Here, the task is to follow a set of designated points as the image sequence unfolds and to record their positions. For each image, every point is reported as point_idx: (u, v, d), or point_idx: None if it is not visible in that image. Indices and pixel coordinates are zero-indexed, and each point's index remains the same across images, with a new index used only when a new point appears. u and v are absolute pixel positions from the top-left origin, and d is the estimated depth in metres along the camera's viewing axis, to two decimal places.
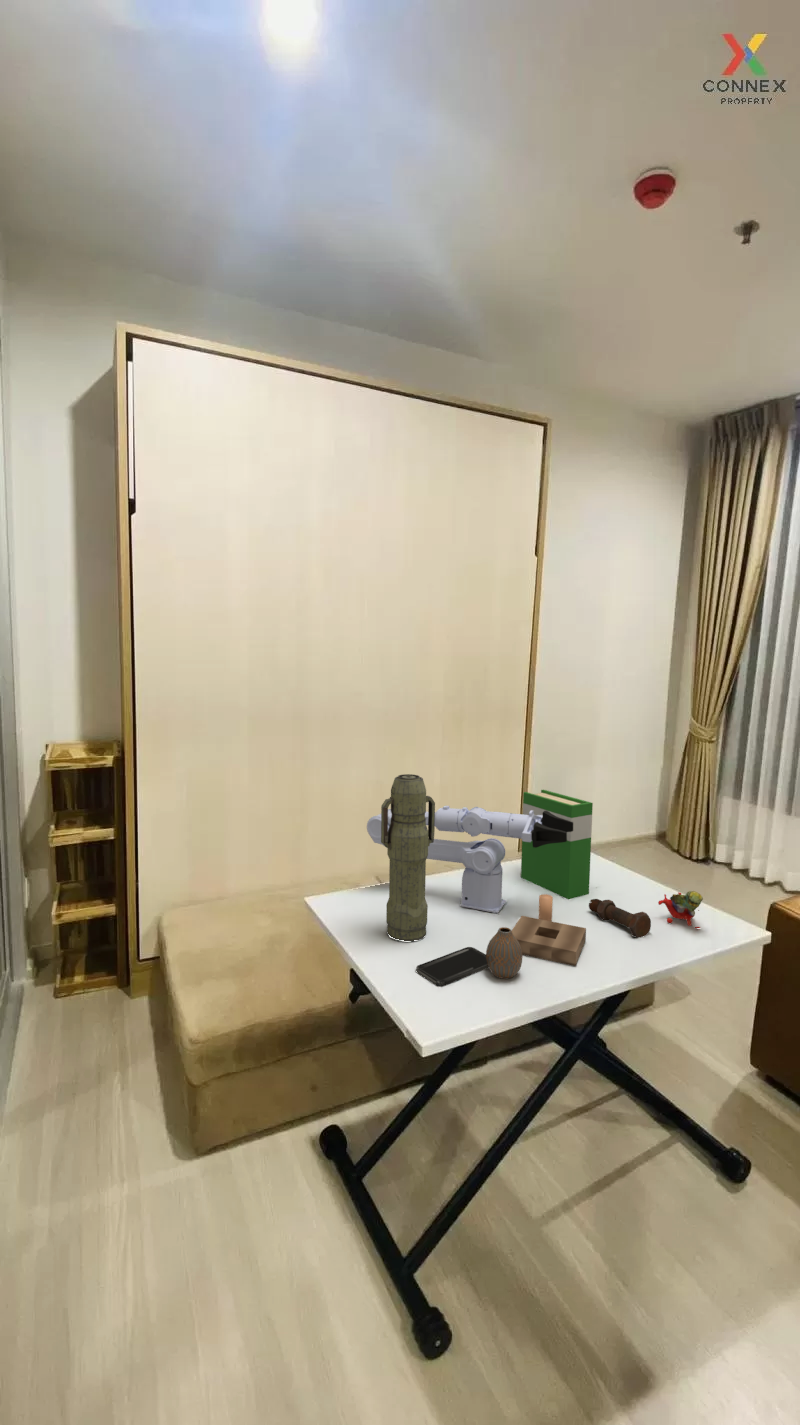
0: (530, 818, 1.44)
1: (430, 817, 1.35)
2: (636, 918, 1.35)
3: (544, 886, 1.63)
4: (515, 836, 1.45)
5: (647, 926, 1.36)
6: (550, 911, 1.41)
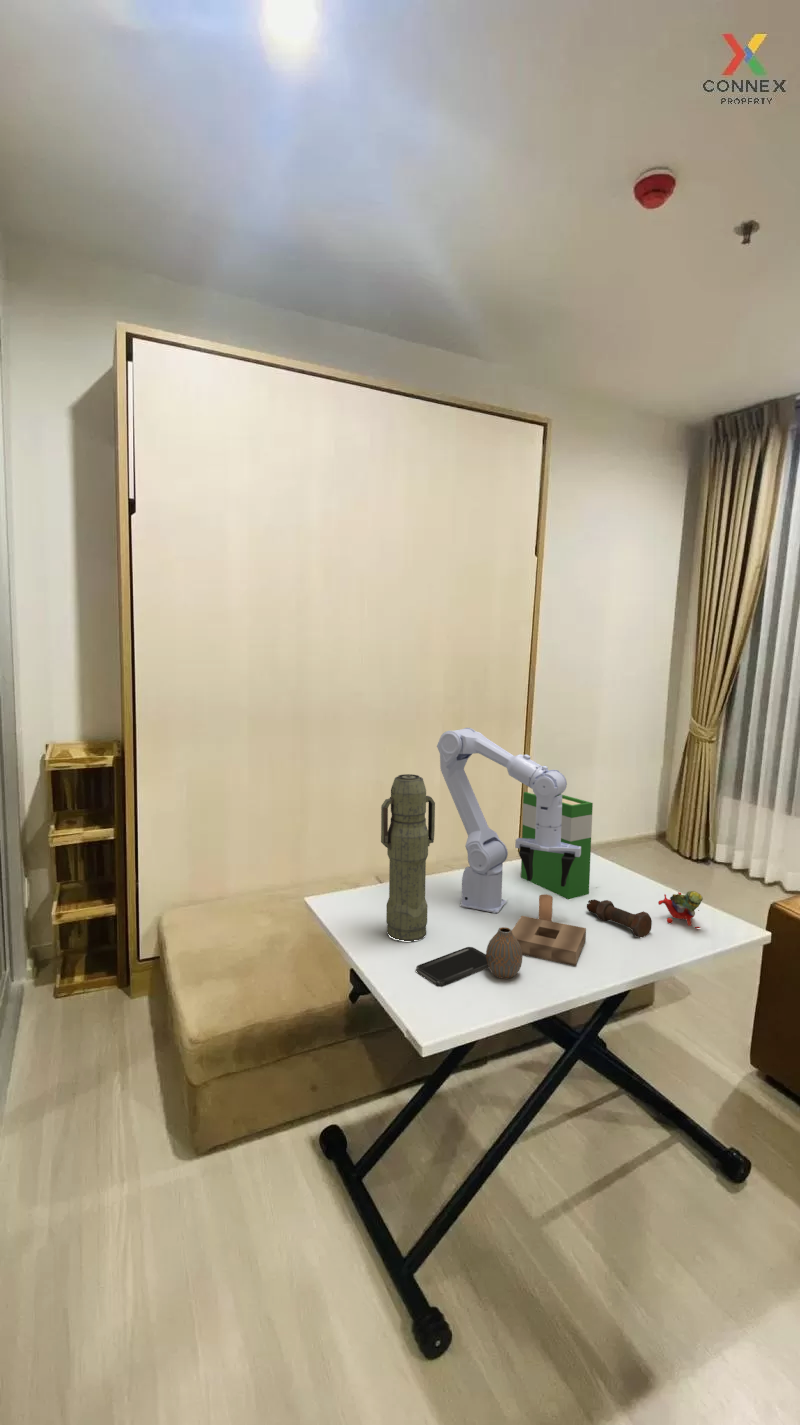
0: (538, 847, 1.39)
1: (430, 817, 1.35)
2: (639, 918, 1.35)
3: (544, 886, 1.63)
4: None
5: (648, 925, 1.37)
6: (550, 911, 1.41)
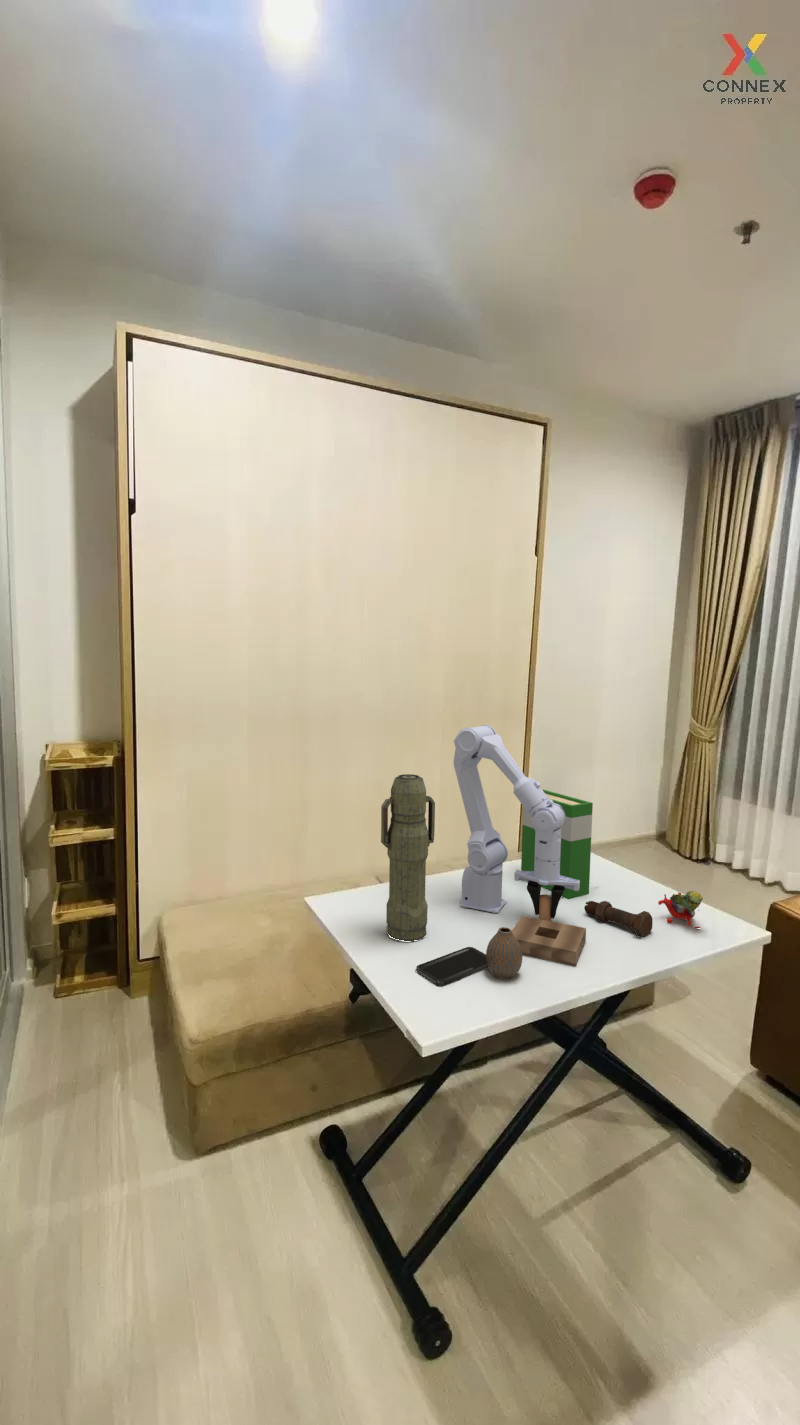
0: (537, 881, 1.40)
1: (430, 817, 1.35)
2: (641, 918, 1.35)
3: (544, 886, 1.63)
4: None
5: (650, 924, 1.37)
6: (550, 911, 1.41)
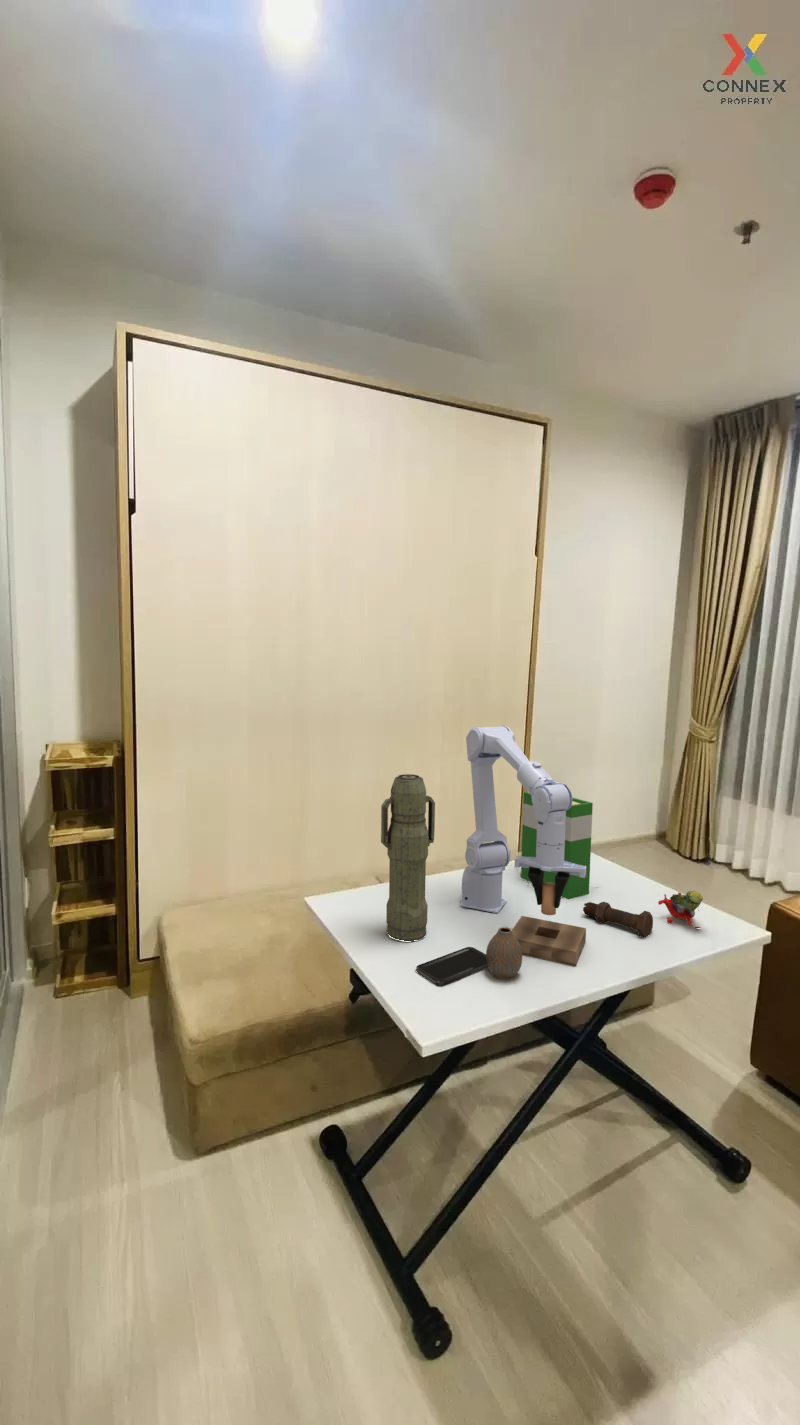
0: (539, 867, 1.28)
1: (430, 817, 1.35)
2: (644, 918, 1.35)
3: None
4: None
5: (651, 924, 1.37)
6: (554, 900, 1.29)
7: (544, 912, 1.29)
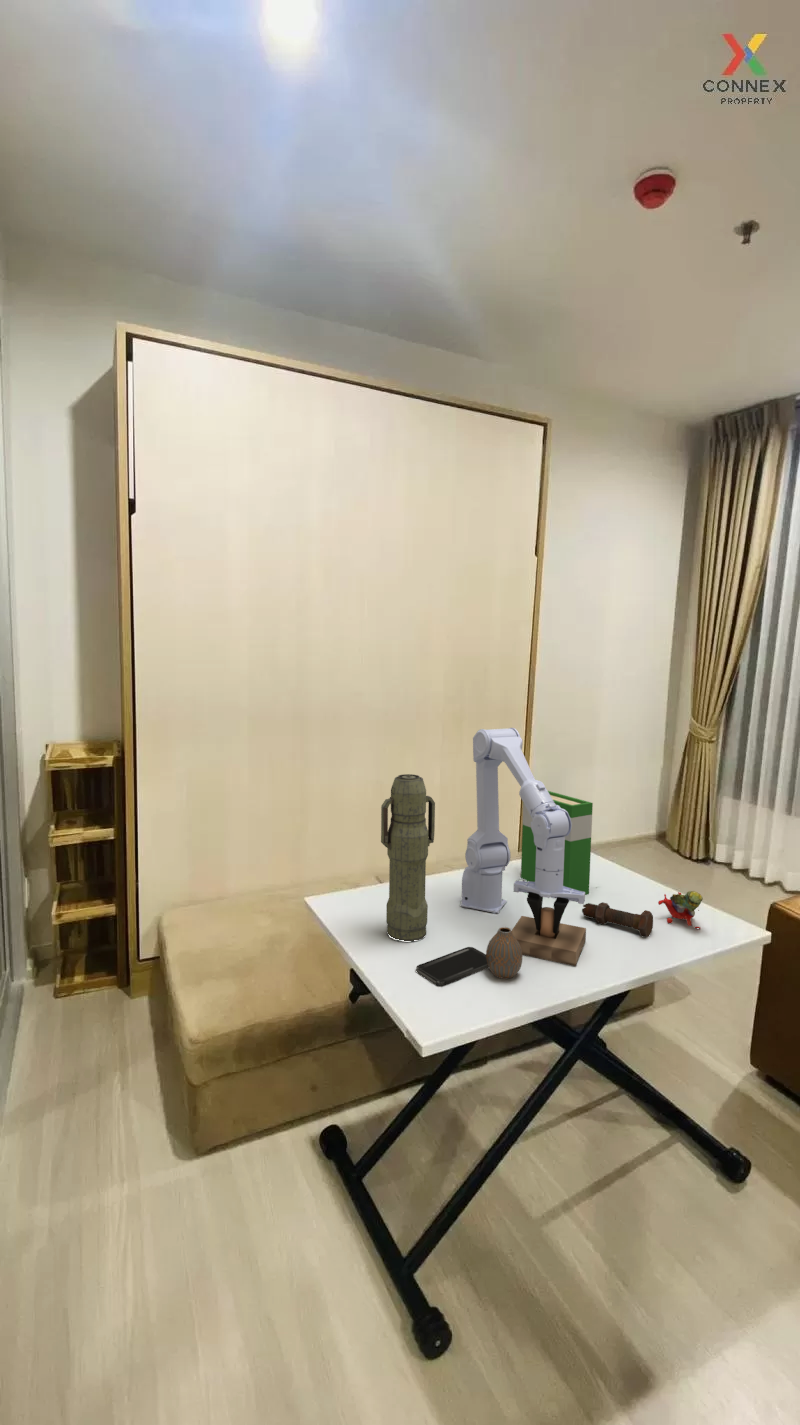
0: (538, 892, 1.28)
1: (430, 817, 1.35)
2: (646, 918, 1.35)
3: None
4: None
5: (651, 923, 1.38)
6: (553, 926, 1.29)
7: None
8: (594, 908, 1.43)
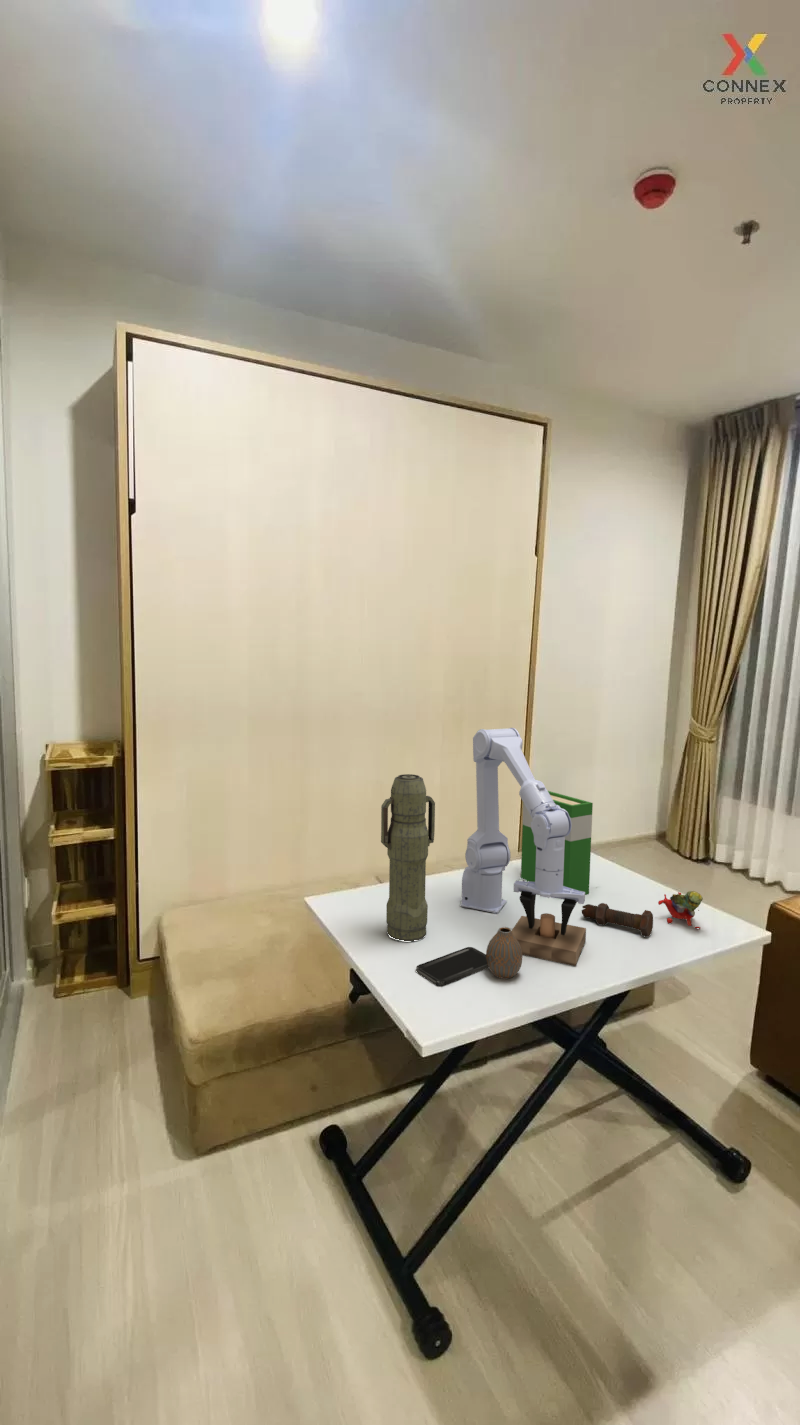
0: (538, 892, 1.28)
1: (430, 817, 1.35)
2: (647, 918, 1.35)
3: None
4: None
5: (651, 923, 1.38)
6: (553, 932, 1.29)
7: None
8: (594, 909, 1.43)
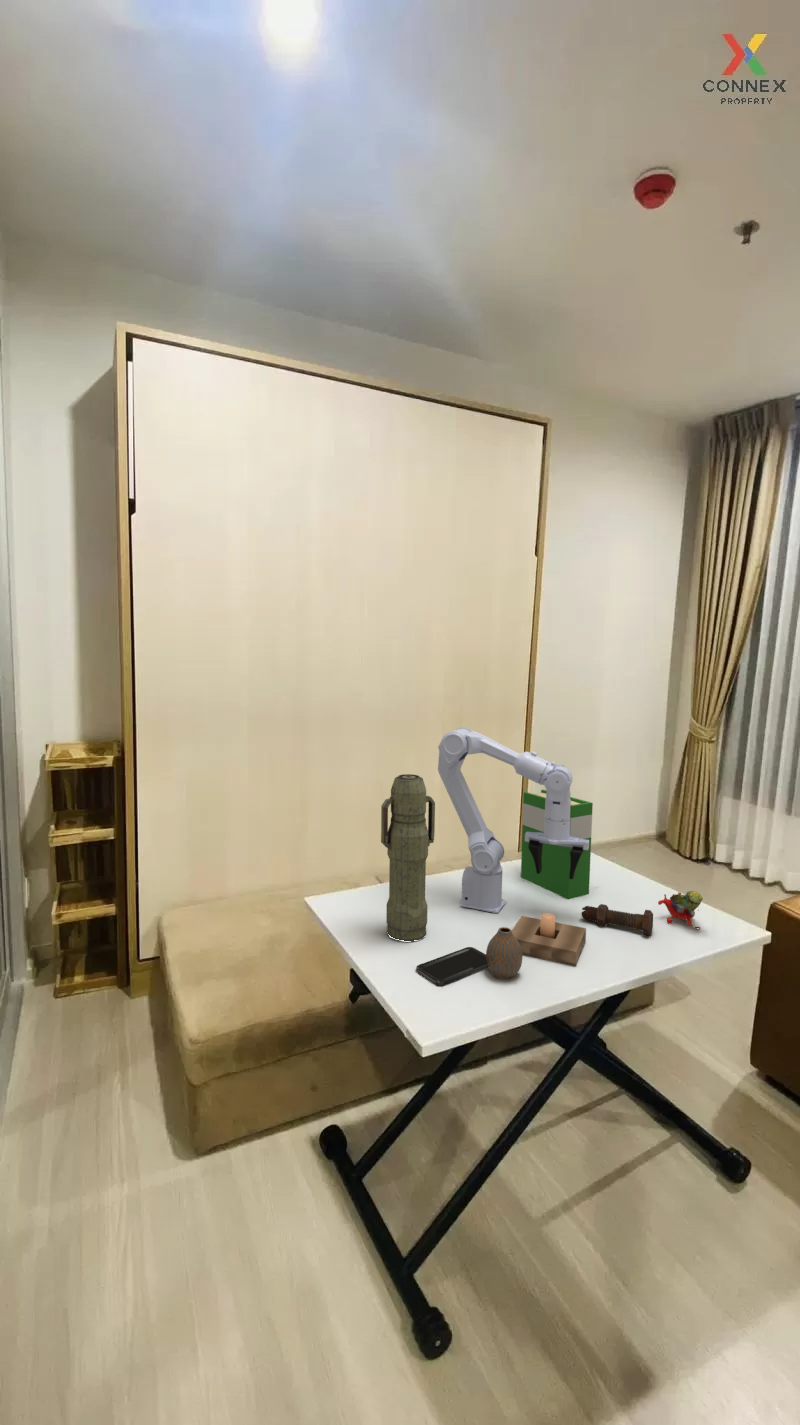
0: (547, 840, 1.43)
1: (430, 817, 1.35)
2: (649, 917, 1.35)
3: (544, 886, 1.63)
4: None
5: (652, 922, 1.38)
6: (553, 932, 1.29)
7: None
8: (594, 910, 1.42)
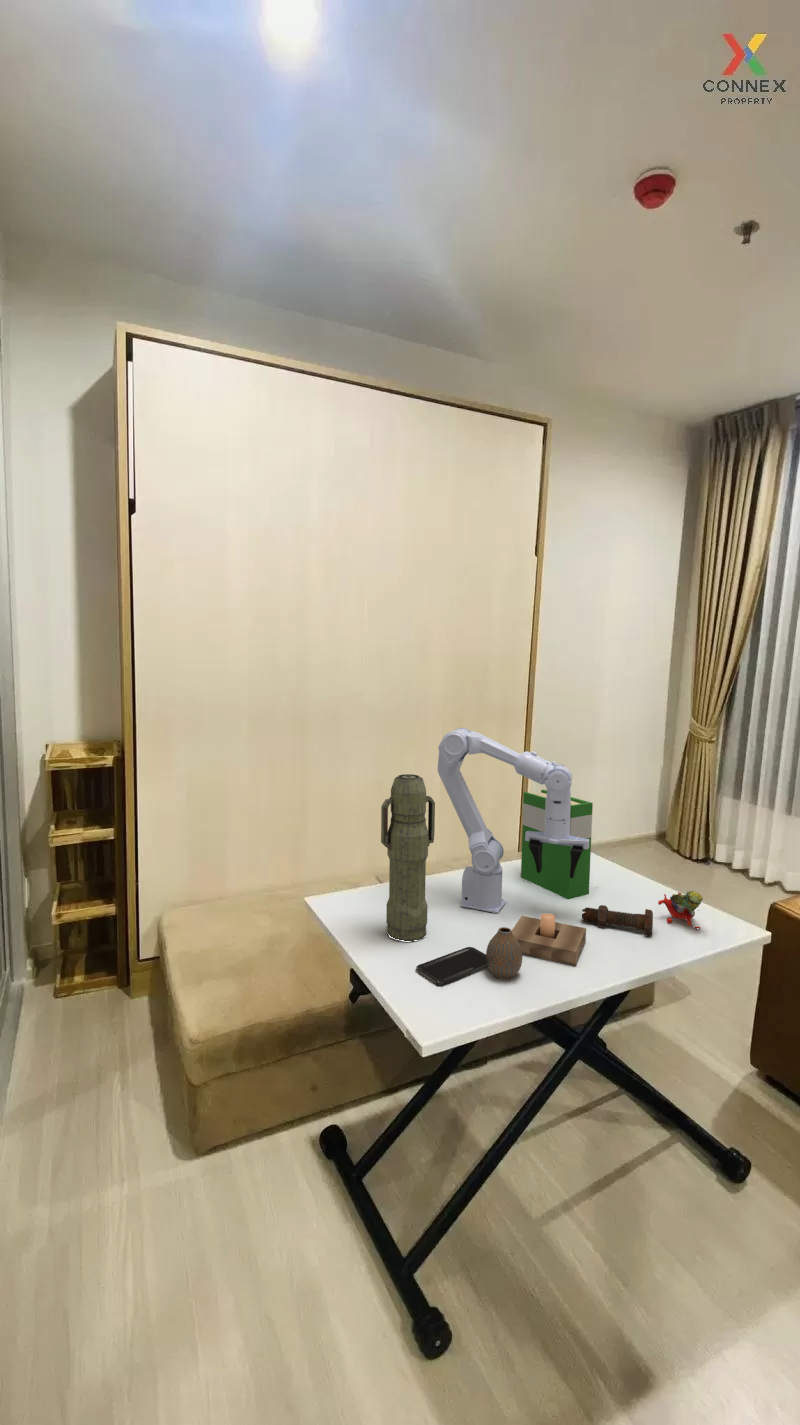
0: (547, 840, 1.43)
1: (430, 817, 1.35)
2: (650, 917, 1.36)
3: (544, 886, 1.63)
4: None
5: (652, 922, 1.39)
6: (553, 932, 1.29)
7: None
8: (594, 912, 1.41)
